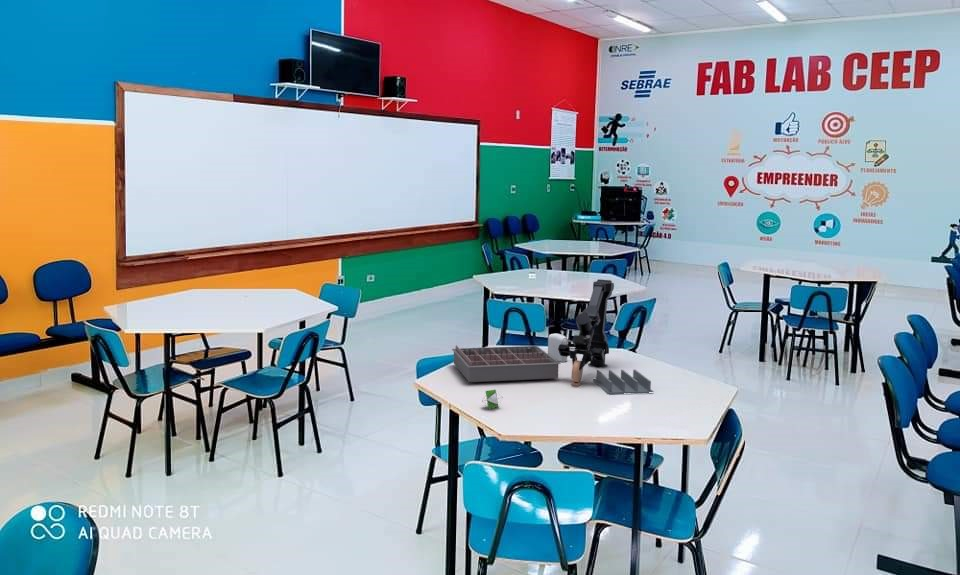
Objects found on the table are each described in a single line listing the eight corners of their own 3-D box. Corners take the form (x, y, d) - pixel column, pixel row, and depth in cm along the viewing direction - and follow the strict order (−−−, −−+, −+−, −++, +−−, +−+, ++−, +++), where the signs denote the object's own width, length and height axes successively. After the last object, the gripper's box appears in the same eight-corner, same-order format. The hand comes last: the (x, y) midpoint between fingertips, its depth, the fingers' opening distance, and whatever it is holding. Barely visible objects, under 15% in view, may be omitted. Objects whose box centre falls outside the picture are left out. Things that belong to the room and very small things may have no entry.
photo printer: (546, 358, 356) (547, 332, 354) (552, 357, 359) (553, 331, 357) (561, 362, 348) (562, 336, 347) (568, 361, 351) (569, 335, 349)
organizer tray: (560, 381, 318) (561, 358, 316) (467, 386, 308) (467, 362, 307) (536, 362, 349) (537, 341, 347) (451, 366, 339) (451, 344, 337)
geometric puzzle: (476, 399, 283) (483, 386, 278) (492, 396, 286) (499, 383, 281) (484, 414, 279) (491, 401, 274) (500, 412, 282) (507, 399, 277)
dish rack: (593, 380, 320) (593, 369, 319) (636, 379, 323) (636, 368, 322) (607, 394, 300) (608, 382, 300) (653, 393, 303) (654, 381, 303)
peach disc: (576, 381, 319) (577, 357, 317) (583, 382, 317) (584, 358, 316) (569, 386, 310) (571, 362, 309) (577, 387, 309) (578, 363, 308)
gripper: (560, 325, 318) (551, 356, 309) (604, 329, 310) (595, 361, 302) (565, 339, 326) (556, 370, 318) (607, 344, 319) (599, 376, 310)
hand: (576, 369), depth 312 cm, fingers closed on peach disc, 2 cm apart
